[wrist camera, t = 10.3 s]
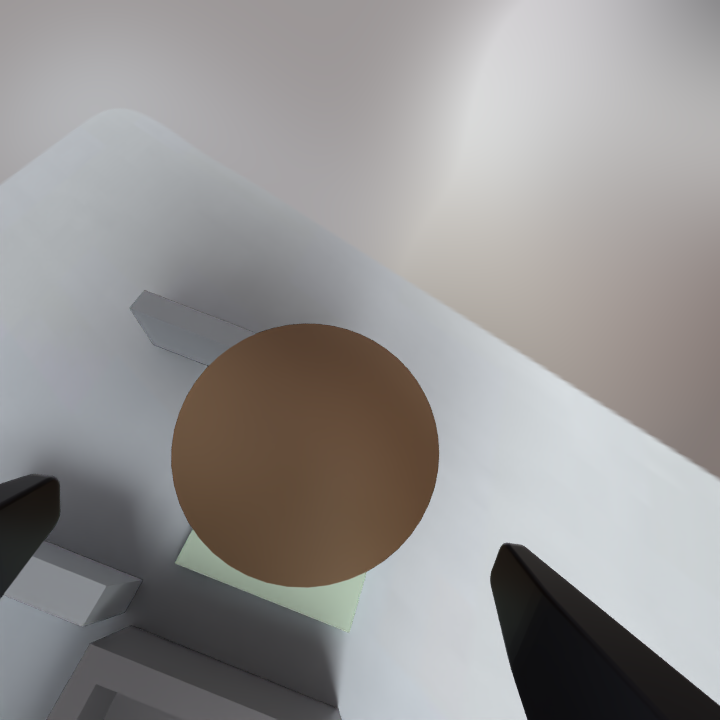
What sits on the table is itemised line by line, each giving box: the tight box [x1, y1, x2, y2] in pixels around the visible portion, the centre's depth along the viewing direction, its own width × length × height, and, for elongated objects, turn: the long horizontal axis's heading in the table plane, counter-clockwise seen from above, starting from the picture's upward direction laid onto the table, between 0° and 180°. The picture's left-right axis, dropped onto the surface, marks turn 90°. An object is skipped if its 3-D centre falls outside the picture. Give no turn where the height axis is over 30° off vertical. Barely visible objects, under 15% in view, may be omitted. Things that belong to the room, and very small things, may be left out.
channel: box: [4, 290, 257, 627], centre depth 17 cm, size 12×6×4 cm, turn 161°
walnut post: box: [171, 324, 439, 588], centre depth 12 cm, size 5×5×12 cm
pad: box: [175, 529, 366, 633], centre depth 18 cm, size 8×8×1 cm
